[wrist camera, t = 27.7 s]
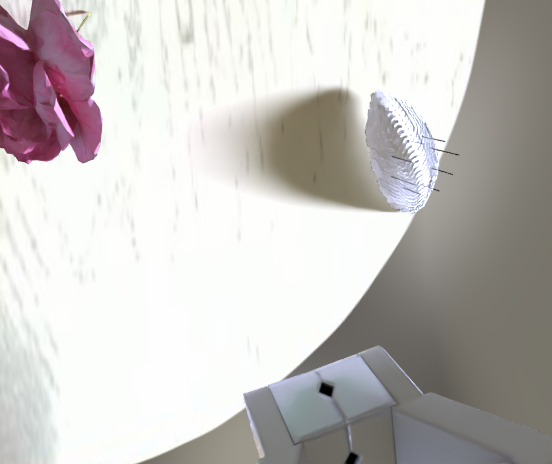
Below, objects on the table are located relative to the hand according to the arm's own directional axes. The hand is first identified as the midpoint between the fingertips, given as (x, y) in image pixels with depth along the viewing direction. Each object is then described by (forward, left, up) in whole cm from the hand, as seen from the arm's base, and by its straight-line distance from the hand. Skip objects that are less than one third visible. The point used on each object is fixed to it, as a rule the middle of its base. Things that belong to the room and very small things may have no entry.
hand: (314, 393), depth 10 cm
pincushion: (+18, -6, -29) cm, 35 cm away
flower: (-8, +6, -29) cm, 31 cm away
